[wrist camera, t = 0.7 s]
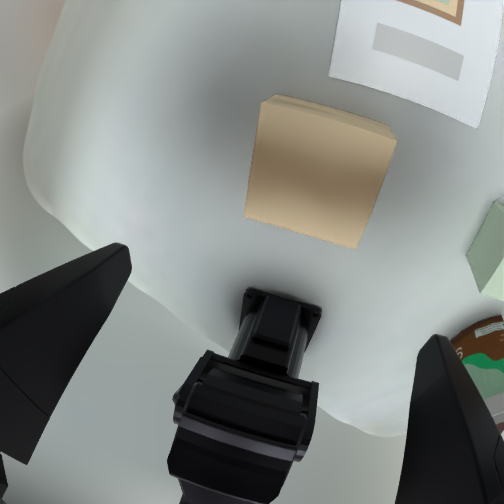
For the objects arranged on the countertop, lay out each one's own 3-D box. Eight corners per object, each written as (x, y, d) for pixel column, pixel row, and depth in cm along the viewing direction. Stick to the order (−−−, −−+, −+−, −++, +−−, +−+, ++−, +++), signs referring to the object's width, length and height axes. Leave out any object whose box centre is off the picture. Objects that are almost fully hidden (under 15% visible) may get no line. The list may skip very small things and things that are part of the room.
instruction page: (476, 128, 13) (477, 129, 12) (328, 76, 14) (328, 76, 14) (504, -39, 5) (506, -40, 5) (353, -97, 6) (353, -99, 6)
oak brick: (356, 218, 19) (355, 250, 16) (259, 190, 20) (243, 216, 17) (388, 124, 15) (397, 141, 12) (277, 93, 16) (261, 102, 13)
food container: (443, 308, 21) (456, 424, 13) (506, 303, 18) (533, 409, 11) (422, 384, 27) (418, 469, 20) (471, 380, 25) (475, 462, 17)
